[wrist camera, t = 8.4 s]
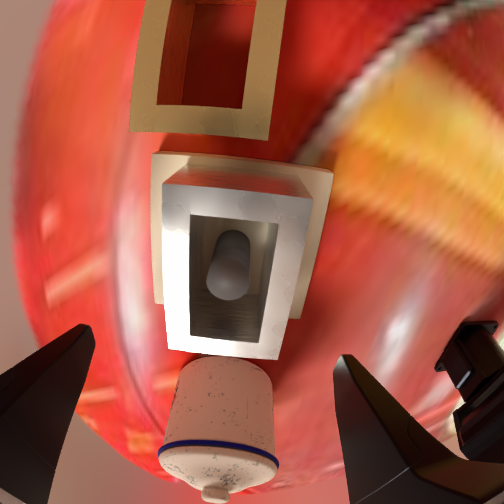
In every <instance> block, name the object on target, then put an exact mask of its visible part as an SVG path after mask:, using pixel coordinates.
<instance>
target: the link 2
mask: <svg viewBox="0 0 504 504" xmlns="http://www.w3.org/2000/svg"><path fill="white" fill-rule="evenodd" d="M313 200H314V199H313V197H312V196H311V194H310V193H309V191H308V190H307V188H306V187H305V185H304V184H303V182H302V181H301V179H300V178H299V176H298V175H292V174H285V173H277V172H269V171H261V170H252V169H243V168H233V167H223V166H211V165H198V164H186V165H184V166H183V167H182V168H180V169H179V170H178V171H177V172H176V173H174V174H173V175H172V176H171V177H169V178H168V179H167V180H166V181H165V182H163V183H162V259H163V282H164V299H165V313H166V325H167V337H168V347H169V348H170V349H176V350H183V351H190V352H198V353H206V354H214V355H223V356H233V357H244V358H256V359H270V360H278V356H279V353H280V349H281V345H282V341H283V337H284V333H285V329H286V325H287V321H288V317H289V313H290V308H291V304H292V300H293V296H294V291H295V287H296V282H297V278H298V274H299V269H300V264H301V260H302V255H303V250H304V246H305V241H306V236H307V231H308V226H309V221H310V216H311V211H312V206H313ZM205 216H212V217H222V218H231V219H241V220H250V221H259V222H268V223H269V224H268V230H267V237H266V244H265V251H264V257H263V264H262V271H261V277H260V284H259V290H258V294H253V293H245V294H244V295H243V296H242V297H240V298H238V299H235V300H223V299H220V298H218V297H216V296H214V295H213V294H212V293H211V292H210V291H209V289H205V288H202V269H203V245H204V224H205Z"/></svg>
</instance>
